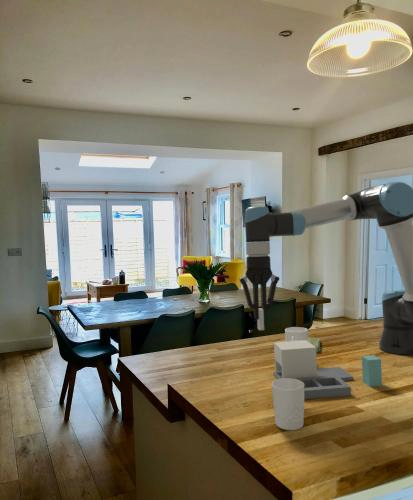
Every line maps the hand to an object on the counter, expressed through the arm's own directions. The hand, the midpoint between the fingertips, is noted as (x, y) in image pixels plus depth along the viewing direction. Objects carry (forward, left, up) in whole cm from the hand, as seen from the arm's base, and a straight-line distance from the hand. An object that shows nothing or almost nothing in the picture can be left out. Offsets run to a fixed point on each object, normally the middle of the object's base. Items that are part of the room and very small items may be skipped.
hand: (260, 329), depth 125 cm
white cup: (0, +29, -17) cm, 34 cm away
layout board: (-16, 0, -17) cm, 23 cm away
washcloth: (-26, -35, -18) cm, 47 cm away
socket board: (-14, +11, -17) cm, 24 cm away
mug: (-16, -15, -17) cm, 28 cm away
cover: (-11, 0, -15) cm, 19 cm away
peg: (-32, +9, -17) cm, 37 cm away
